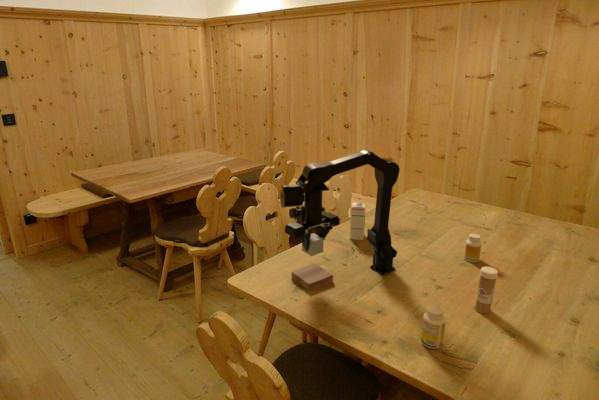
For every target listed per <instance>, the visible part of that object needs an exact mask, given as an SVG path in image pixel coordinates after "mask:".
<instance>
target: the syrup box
mask: <svg viewBox="0 0 599 400" xmlns="http://www.w3.org/2000/svg"><path fill="white" fill-rule="evenodd" d="M366 206H367V204H366V203H365V202H352V203H351V206H350V220H349V221H350V226H349V230H350V231H349V239H350V240H357V241H364V239H365V232H366V231H365V230H366V229H365V228H366Z"/></svg>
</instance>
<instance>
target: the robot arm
mask: <svg viewBox="0 0 599 400" xmlns="http://www.w3.org/2000/svg"><path fill="white" fill-rule="evenodd" d="M367 165H368V166H371V167H372V168H373V169H374V170H373V171H374V177H375V181H376V186H377V190H376V199H375V210H374V211H375V212H374V223H373V226H372V228H367V230H366V231H367V235H366V239H365V240H367V243H368V244H369V245H370V247H371V248H372V250H374V251H373V255H372V264H371V265H370V266H369V267H370V269H372V270H374V271H376V272H378V273H380V274H381V275H385V274H386V275H387V274H388V273H390V272H392V271H395V270H396V267H394V266H393V264H394V258H396V257H397V254H398V251H397V250H396V249H395V248H394V247H393V246H392V236H391V232H390V230H389V221H390V213H391V212H390V211H391V204H392V195H393V194H392V193H393V187H394V186H395V184H396V183H397V181H398V178H399V175H400V166H399V165H398V163H396V162H394V161H392V160H390V159H387V158H386V157H380V156H378V155H376V154H375V153H374V152H373V151H370V150H368V149H363V150H360V151H359V152H356V153H353V154H349V155H346V156H343V157H340V158H337V159H334V160H331V161H324V162H322V161H318V162H311V163H308V164H305V165H304V167H303V169H302V173H301V174H300V176H299V178H298V179H296V182H295V184H291V185H289V184H284V185H283V184H282V185H281V190H280V193H279V201H280V206H281V207H282V208H289V209H288V215H289V218H290V219H294V221H293V222H291V223H288V224H287V223H286V225H285V226H284V233H285V234H286V235H289V236H290V237H292V238H294V239H300V241H301V245H302V244H303V247H304V249H305V251H308V248H309V243H310V237H311V234H312V233H309V229H312V228H316V235H318V236H320V237H322V238H323V242H324V241H325V239H326V237H327V236H328V235H329V233H330V231H331V230H332V229H333V227H337V226H339V225H340V224H341V223H340V222H341V219H340V217H339V215H336V214H334V213H332V212H325V211H326V209H325V207H324V206H323V194H324V193H323V192H326V191H330V187H328V186H327V185H326V184H325V183H326V182H329V180H330V179H332V178H333V177H334V176H336V175H339V174H342V173H345V172H348V171H351V170H354V169H358V168H361V167H364V166H367ZM300 206H301V207H300ZM296 207H300V208H298V209H297V208H296ZM323 212H325V213H323ZM296 220H299V222H301V223H302V224H300V223H298V222H296Z"/></svg>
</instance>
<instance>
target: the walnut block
mask: <svg viewBox="0 0 599 400" xmlns="http://www.w3.org/2000/svg"><path fill="white" fill-rule="evenodd" d="M291 279H292V280H293V281H295V282H296V283H297V284H299V285H300V286H301V287H303V288H304V289H305V290H307V291H308V292H311V291H313V290H316V289H318V288H320V287H323V286H326V285H329V284H330V283H333V282H334V274H332V273H331V272H329V271H328V270H326V269H324V268H323V267H321V266H320V265H318V264H317V263H312V264H309V265H306V266H304V267H300V268H298V269H294V270H293V271H291Z"/></svg>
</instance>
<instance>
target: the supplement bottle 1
mask: <svg viewBox="0 0 599 400" xmlns="http://www.w3.org/2000/svg"><path fill="white" fill-rule="evenodd" d="M422 316H423V317H422V323H421V334H420V341H421V344H422V345H423V346H425V347H426V348H427V349H428V348H429V349H433V350H436V349H441V347H442V346H443V343H444V337H445V329H446V322H447V320H446V316H445V315H444V309H443V308H442V307H440V306H438V305H429V306H428V307H427V309H426V312H425V313H424V314H423V315H422Z"/></svg>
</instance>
